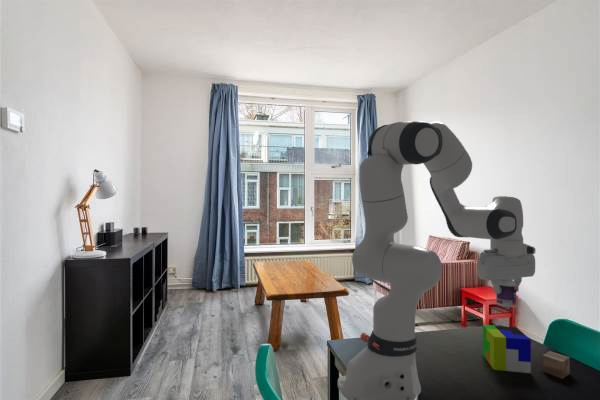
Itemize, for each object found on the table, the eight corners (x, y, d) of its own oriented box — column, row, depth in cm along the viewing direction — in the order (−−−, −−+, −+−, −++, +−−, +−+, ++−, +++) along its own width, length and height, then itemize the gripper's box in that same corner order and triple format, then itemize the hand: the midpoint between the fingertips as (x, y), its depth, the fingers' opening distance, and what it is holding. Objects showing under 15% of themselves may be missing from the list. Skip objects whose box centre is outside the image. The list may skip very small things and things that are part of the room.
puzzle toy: (530, 373, 101) (530, 339, 101) (493, 369, 103) (493, 336, 103) (516, 358, 111) (516, 327, 111) (482, 355, 113) (483, 324, 113)
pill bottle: (518, 308, 104) (518, 276, 104) (498, 306, 105) (498, 275, 105) (513, 303, 109) (513, 272, 109) (494, 301, 110) (494, 271, 110)
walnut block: (562, 379, 98) (562, 361, 98) (542, 371, 102) (542, 355, 102) (569, 374, 101) (569, 357, 101) (549, 367, 105) (549, 351, 105)
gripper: (489, 251, 101) (489, 298, 101) (539, 248, 107) (539, 292, 107) (472, 248, 107) (472, 292, 107) (520, 245, 113) (520, 287, 113)
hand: (506, 292), depth 107 cm, fingers closed on pill bottle, 5 cm apart
